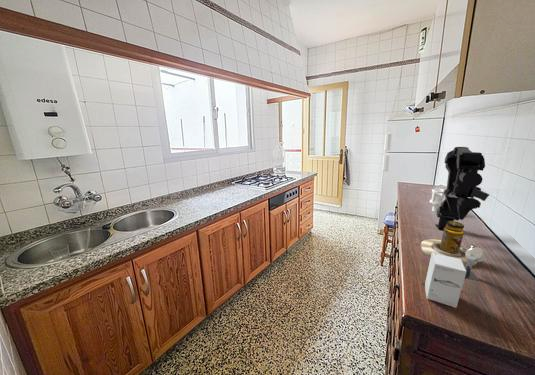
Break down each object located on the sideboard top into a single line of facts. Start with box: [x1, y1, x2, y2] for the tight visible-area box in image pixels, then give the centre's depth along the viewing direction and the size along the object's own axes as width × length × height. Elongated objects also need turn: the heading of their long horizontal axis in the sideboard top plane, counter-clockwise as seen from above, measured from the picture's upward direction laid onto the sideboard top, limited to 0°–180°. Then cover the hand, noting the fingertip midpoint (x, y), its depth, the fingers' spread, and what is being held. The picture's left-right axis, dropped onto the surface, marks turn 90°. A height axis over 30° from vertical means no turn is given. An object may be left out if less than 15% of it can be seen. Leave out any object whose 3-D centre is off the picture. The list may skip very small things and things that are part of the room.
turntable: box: [420, 238, 478, 267], centre depth 89 cm, size 18×18×2 cm
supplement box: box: [424, 253, 467, 309], centre depth 66 cm, size 7×7×13 cm
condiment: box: [433, 220, 465, 256], centre depth 87 cm, size 7×8×12 cm
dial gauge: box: [462, 244, 487, 282], centre depth 76 cm, size 8×5×12 cm, turn 160°
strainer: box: [429, 188, 446, 213], centre depth 135 cm, size 7×7×15 cm
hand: (456, 215), depth 96 cm, fingers open, 9 cm apart
